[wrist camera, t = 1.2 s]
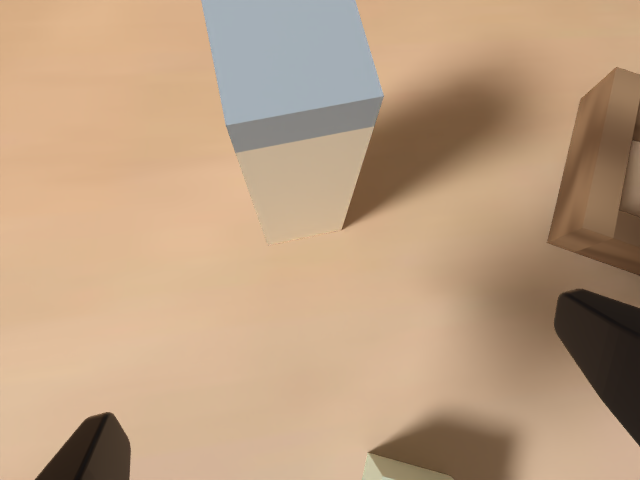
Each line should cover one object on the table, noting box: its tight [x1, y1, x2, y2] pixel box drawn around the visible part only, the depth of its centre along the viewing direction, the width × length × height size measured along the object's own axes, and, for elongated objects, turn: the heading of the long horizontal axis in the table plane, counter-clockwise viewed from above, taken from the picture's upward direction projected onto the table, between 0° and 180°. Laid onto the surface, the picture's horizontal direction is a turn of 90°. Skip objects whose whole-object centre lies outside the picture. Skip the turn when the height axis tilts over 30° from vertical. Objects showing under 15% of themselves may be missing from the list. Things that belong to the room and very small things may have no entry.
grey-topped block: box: [201, 0, 384, 246], centre depth 17 cm, size 4×4×12 cm
